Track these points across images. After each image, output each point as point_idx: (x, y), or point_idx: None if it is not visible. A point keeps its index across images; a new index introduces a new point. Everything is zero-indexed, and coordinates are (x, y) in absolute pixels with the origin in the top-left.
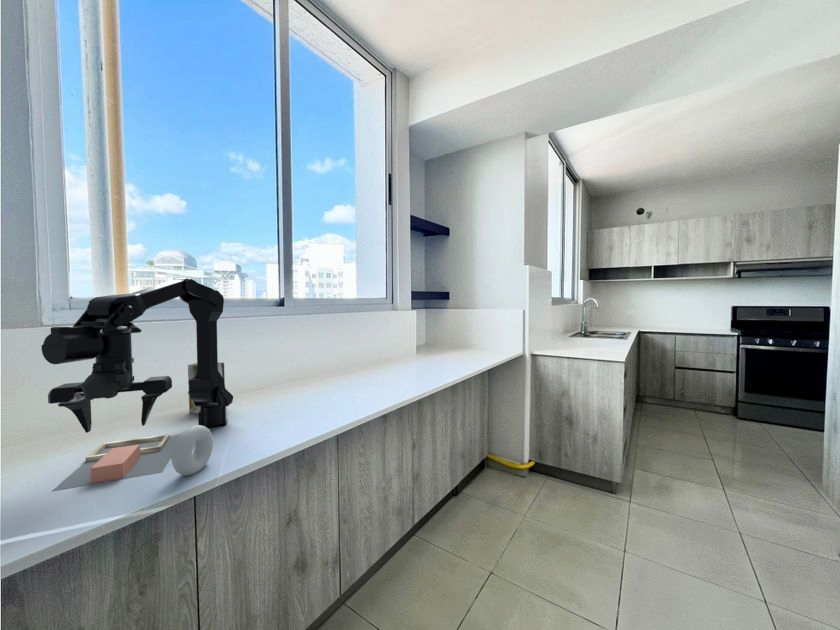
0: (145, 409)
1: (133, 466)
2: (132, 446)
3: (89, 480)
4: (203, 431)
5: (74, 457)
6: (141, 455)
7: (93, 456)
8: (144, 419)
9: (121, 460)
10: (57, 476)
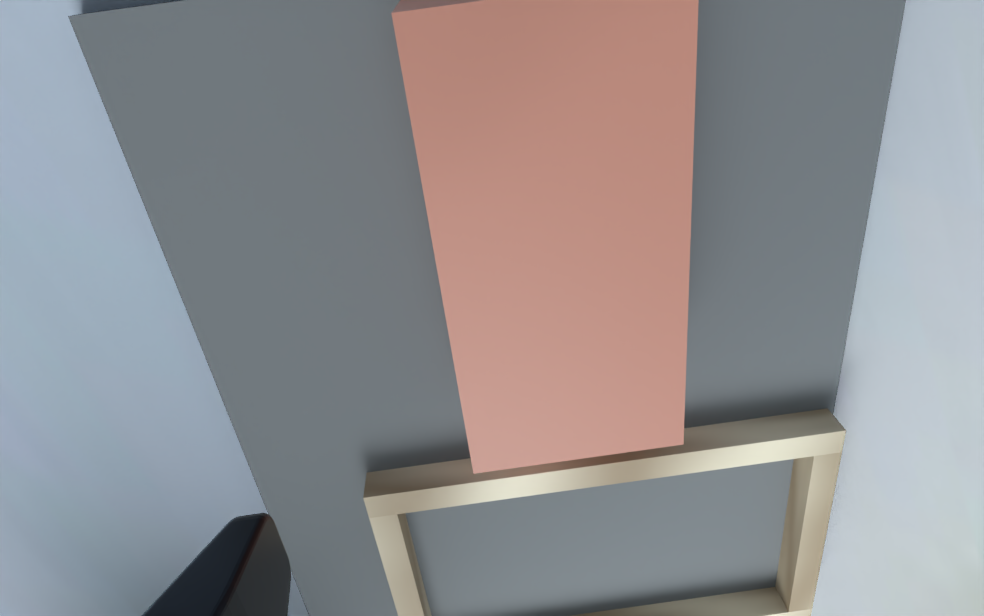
0: None
1: None
2: (520, 446)
3: None
4: None
5: (916, 512)
6: None
7: (799, 438)
8: (170, 606)
9: (454, 113)
10: (944, 251)
